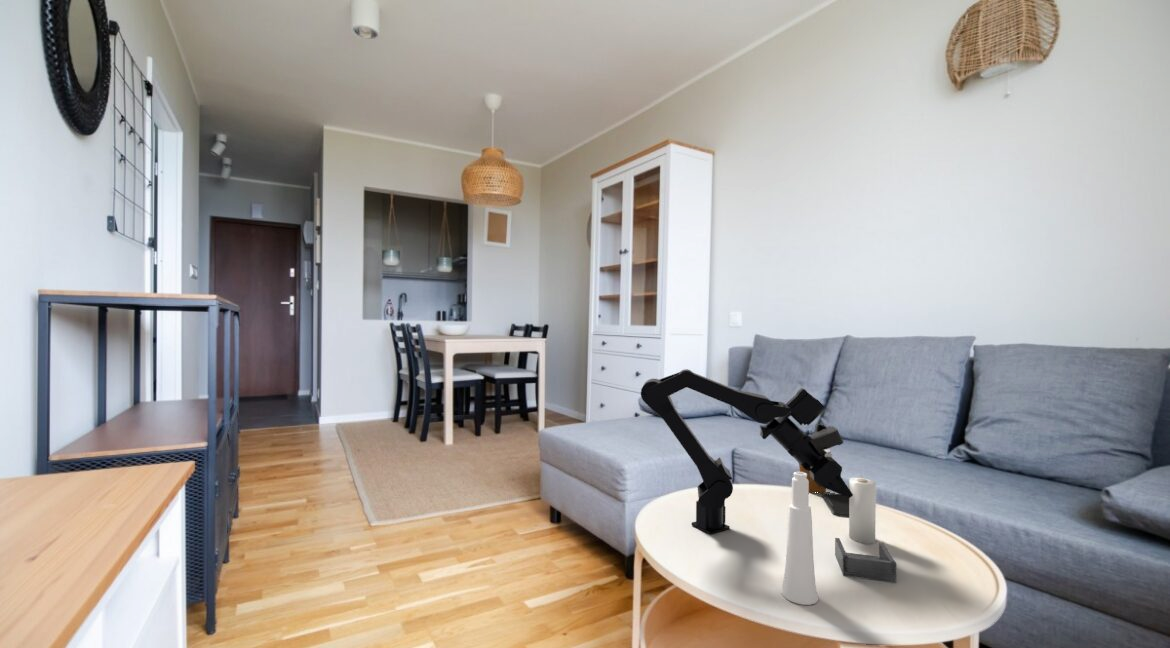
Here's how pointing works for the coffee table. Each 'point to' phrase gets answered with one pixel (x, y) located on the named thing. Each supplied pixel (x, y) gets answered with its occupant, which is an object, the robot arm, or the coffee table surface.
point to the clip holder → (866, 564)
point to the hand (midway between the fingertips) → (844, 489)
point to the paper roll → (862, 510)
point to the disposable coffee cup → (812, 484)
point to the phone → (837, 504)
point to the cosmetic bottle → (800, 546)
